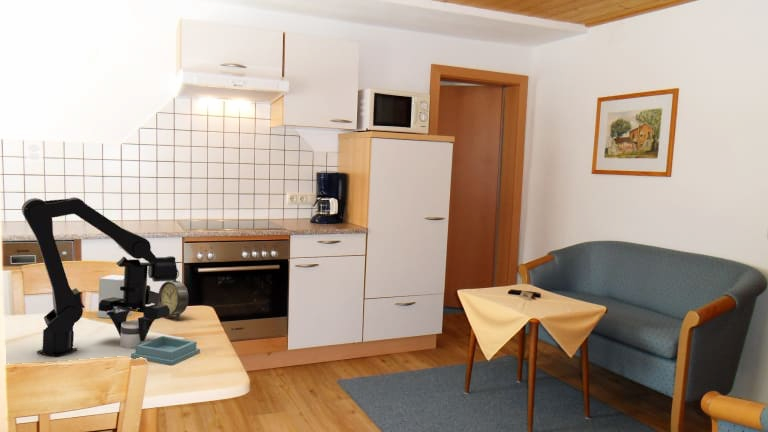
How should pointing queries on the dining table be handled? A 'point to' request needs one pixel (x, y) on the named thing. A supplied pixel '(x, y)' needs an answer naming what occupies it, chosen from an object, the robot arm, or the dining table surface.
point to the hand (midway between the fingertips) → (132, 339)
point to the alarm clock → (174, 297)
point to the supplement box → (110, 290)
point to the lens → (130, 334)
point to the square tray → (166, 350)
